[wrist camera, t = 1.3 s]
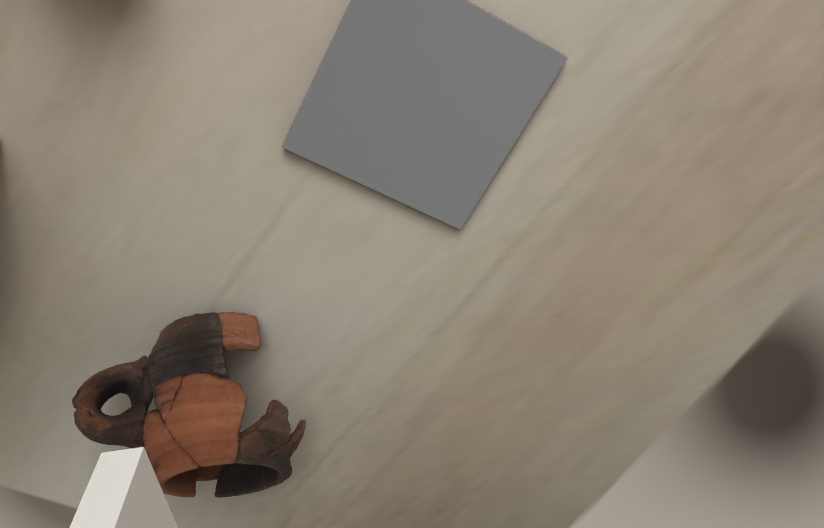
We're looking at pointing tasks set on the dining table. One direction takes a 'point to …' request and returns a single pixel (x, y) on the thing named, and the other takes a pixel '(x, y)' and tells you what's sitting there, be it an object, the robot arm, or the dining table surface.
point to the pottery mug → (192, 411)
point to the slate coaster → (422, 101)
